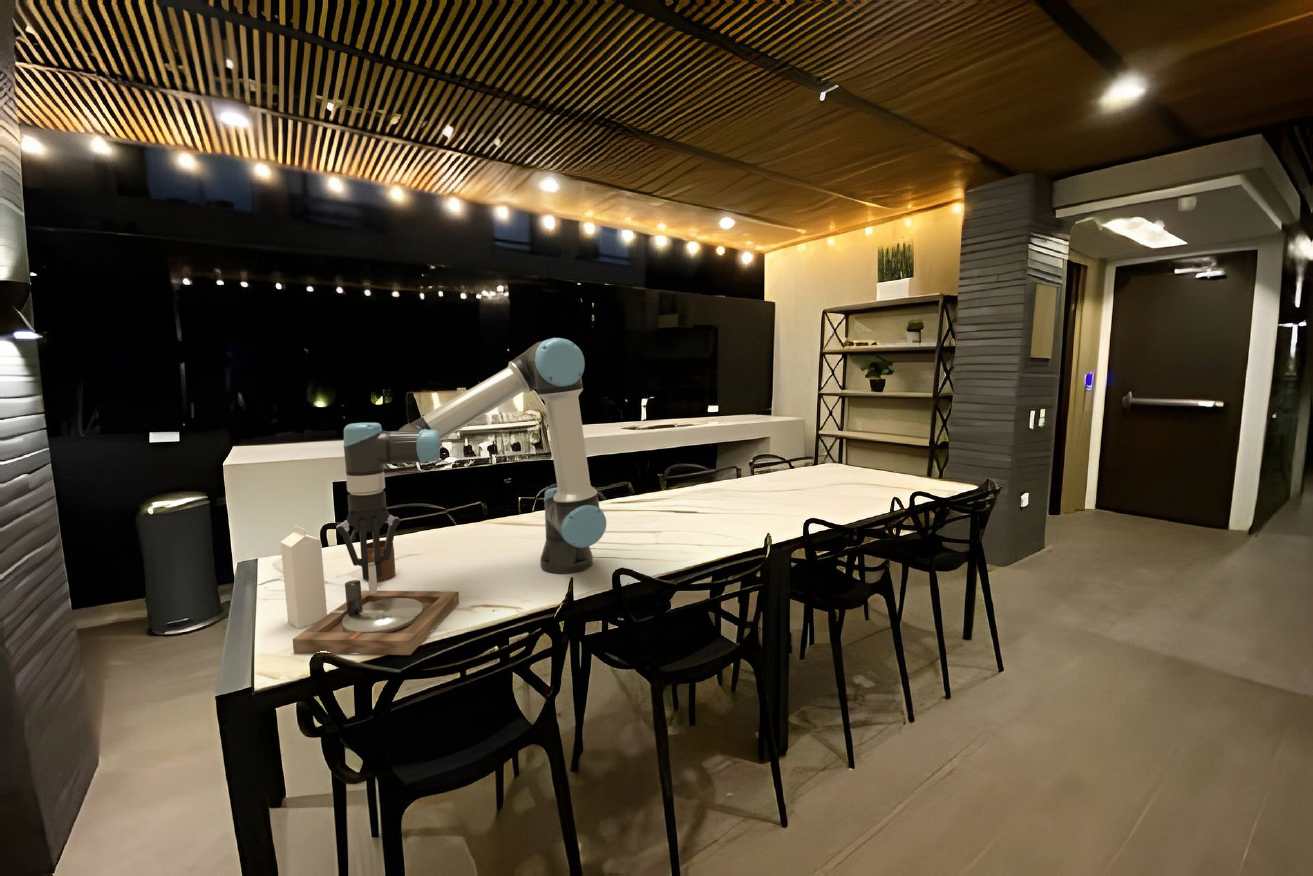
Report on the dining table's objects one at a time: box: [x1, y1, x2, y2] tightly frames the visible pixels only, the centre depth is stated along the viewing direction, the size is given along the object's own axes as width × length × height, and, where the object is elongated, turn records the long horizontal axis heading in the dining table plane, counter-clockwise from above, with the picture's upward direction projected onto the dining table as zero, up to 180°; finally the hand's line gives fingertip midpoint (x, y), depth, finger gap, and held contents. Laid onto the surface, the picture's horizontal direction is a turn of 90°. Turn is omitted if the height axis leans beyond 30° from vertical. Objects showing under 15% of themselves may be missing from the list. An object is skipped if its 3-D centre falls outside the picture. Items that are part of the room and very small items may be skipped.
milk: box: [280, 525, 328, 630], centre depth 120 cm, size 6×6×22 cm
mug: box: [367, 539, 396, 582], centre depth 145 cm, size 12×8×9 cm, turn 20°
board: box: [292, 589, 460, 656], centre depth 119 cm, size 24×24×3 cm
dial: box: [342, 579, 423, 633], centre depth 118 cm, size 16×16×8 cm
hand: (373, 591), depth 123 cm, fingers closed
